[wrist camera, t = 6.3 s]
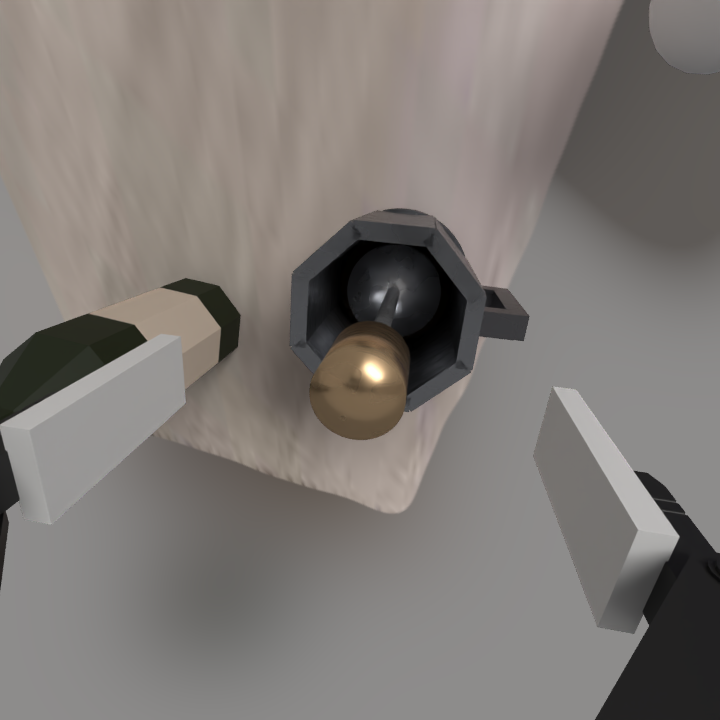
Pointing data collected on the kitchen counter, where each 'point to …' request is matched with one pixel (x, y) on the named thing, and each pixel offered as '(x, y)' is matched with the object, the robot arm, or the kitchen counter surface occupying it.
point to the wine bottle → (122, 340)
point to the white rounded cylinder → (687, 34)
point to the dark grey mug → (435, 340)
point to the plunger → (375, 343)
